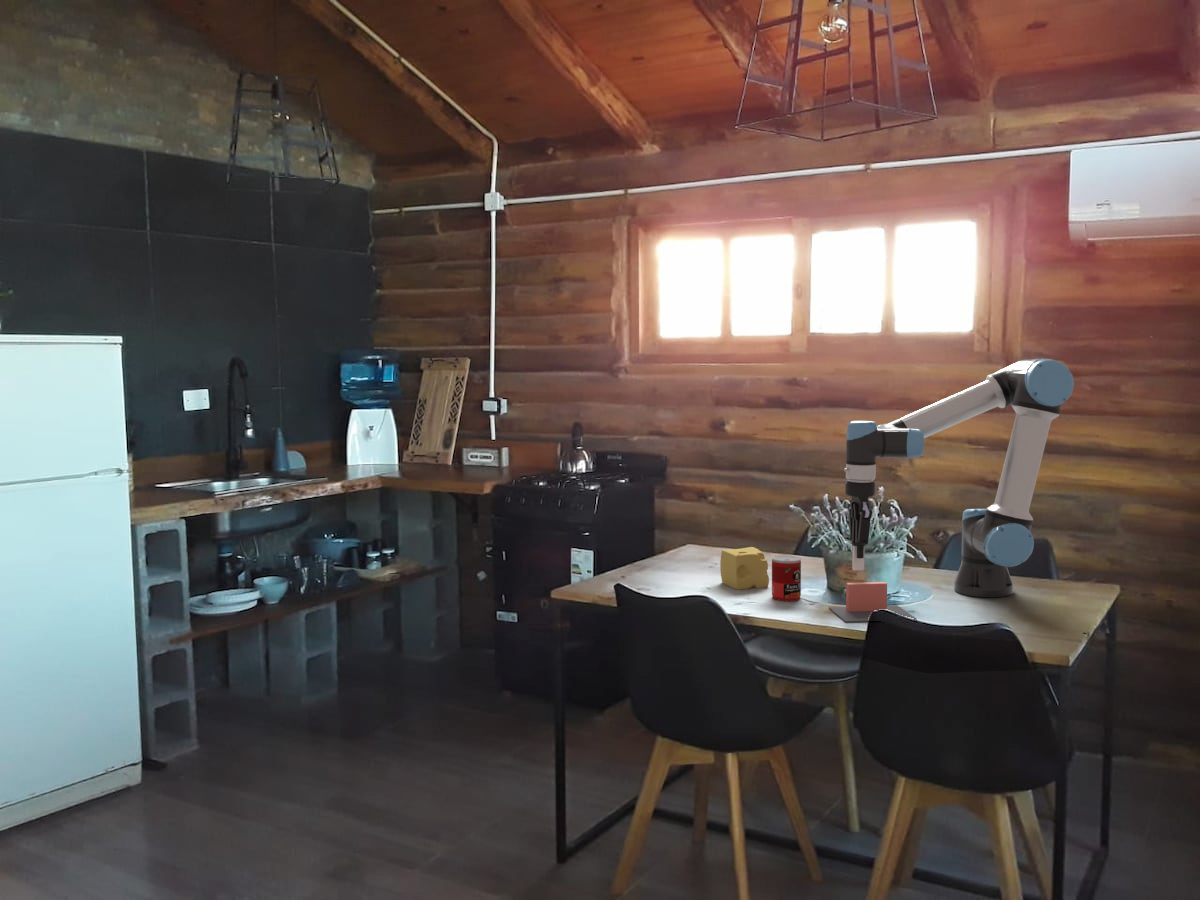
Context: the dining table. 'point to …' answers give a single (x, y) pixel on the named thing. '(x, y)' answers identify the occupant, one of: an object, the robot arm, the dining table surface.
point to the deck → (866, 596)
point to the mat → (863, 613)
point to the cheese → (744, 568)
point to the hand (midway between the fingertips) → (858, 569)
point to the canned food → (786, 578)
